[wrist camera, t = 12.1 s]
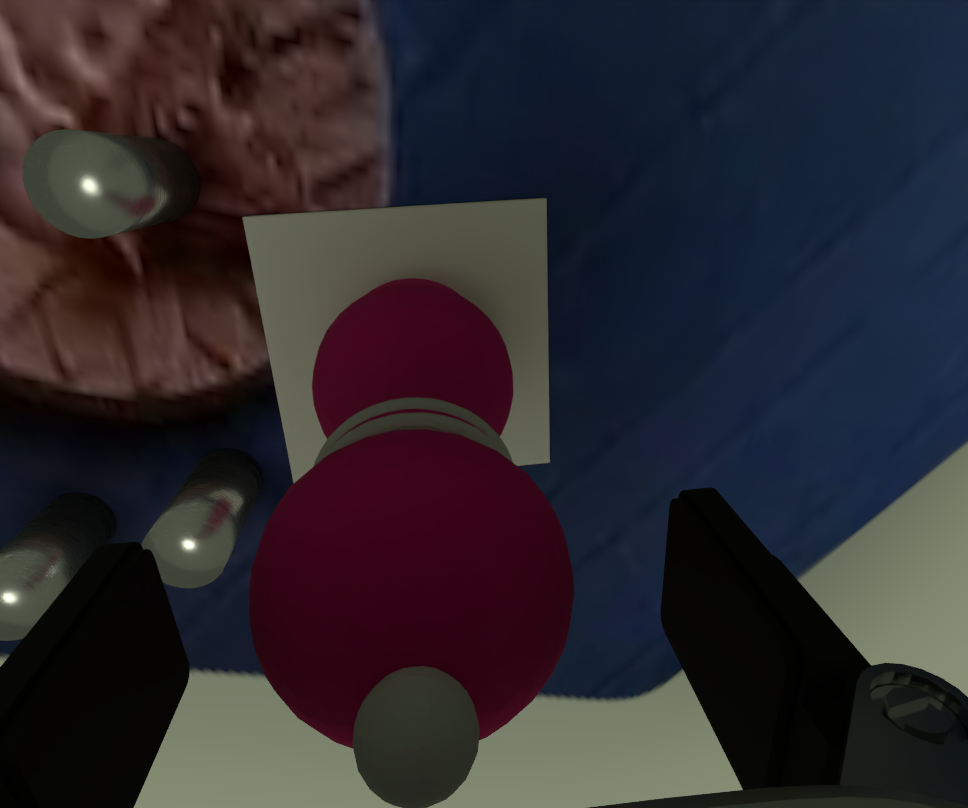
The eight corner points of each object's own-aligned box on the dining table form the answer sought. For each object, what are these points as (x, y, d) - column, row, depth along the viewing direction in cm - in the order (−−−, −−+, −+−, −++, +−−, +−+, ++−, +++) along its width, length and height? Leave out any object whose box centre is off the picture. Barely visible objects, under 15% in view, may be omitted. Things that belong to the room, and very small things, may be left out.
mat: (543, 197, 25) (546, 198, 25) (547, 457, 30) (549, 462, 29) (246, 215, 24) (242, 217, 24) (296, 481, 29) (294, 487, 28)
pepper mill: (421, 455, 28) (436, 1014, 10) (293, 356, 26) (-10, 844, 7) (530, 343, 27) (794, 749, 8) (406, 227, 24) (383, 429, 6)
